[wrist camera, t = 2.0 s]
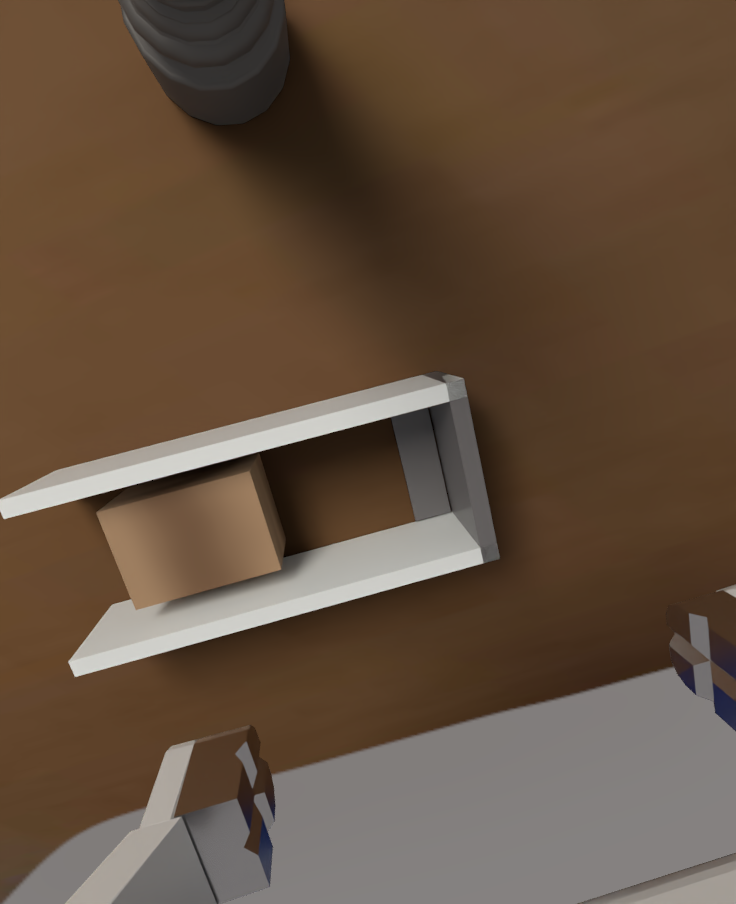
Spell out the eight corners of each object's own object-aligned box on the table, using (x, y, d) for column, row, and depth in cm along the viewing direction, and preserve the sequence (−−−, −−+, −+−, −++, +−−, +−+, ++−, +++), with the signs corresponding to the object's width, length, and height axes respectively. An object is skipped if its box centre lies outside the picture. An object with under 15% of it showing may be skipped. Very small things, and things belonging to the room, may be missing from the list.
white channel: (436, 371, 26) (463, 378, 22) (468, 520, 28) (500, 558, 24) (56, 470, 26) (-5, 501, 21) (117, 617, 28) (75, 676, 23)
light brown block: (259, 451, 27) (249, 471, 23) (286, 537, 28) (281, 569, 24) (128, 486, 26) (96, 512, 23) (161, 571, 28) (135, 610, 24)
